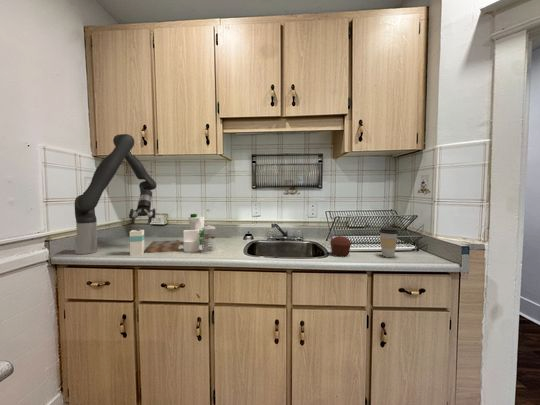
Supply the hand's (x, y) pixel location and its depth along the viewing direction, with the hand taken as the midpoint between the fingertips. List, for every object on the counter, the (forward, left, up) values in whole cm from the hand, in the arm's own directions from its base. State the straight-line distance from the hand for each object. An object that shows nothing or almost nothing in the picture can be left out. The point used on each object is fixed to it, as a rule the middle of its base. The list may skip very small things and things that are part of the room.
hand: (141, 223), depth 145 cm
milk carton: (+32, +6, -16) cm, 36 cm away
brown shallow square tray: (+13, -3, -16) cm, 21 cm away
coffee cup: (+132, -55, -16) cm, 144 cm away
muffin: (+109, -44, -16) cm, 119 cm away
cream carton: (0, -11, -16) cm, 19 cm away
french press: (+38, -17, -16) cm, 45 cm away
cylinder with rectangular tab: (+29, -11, -16) cm, 35 cm away
